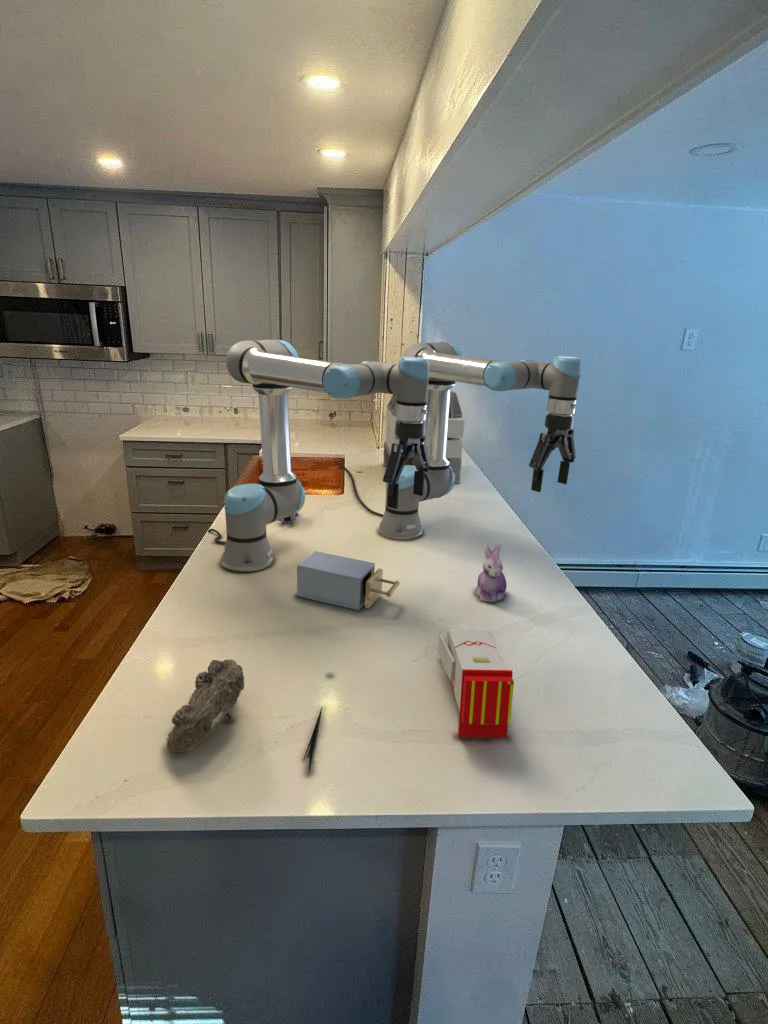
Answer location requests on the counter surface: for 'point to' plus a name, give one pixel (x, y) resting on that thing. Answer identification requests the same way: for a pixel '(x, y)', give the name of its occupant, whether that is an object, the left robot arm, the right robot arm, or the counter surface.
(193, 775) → the counter surface
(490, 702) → the toy
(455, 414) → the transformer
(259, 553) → the left robot arm
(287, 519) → the figurine character
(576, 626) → the counter surface
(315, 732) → the feather
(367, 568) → the cabinet
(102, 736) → the counter surface
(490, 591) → the figurine
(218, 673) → the fossil
